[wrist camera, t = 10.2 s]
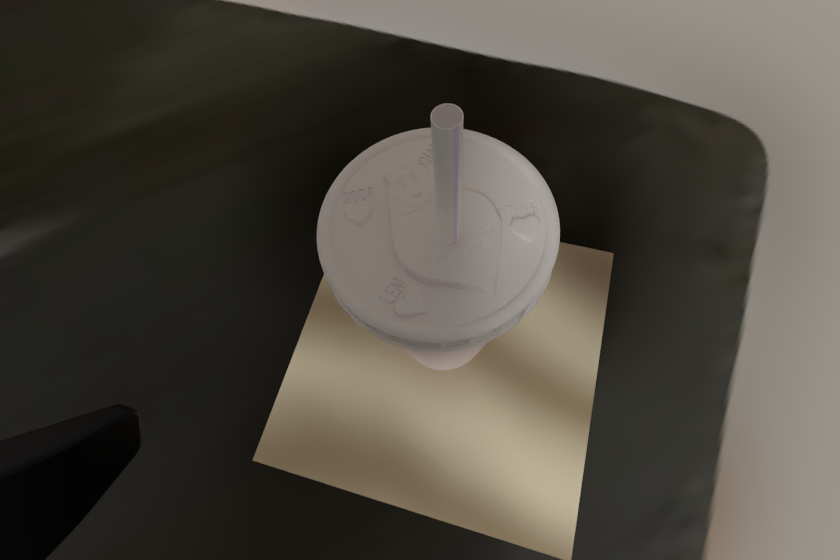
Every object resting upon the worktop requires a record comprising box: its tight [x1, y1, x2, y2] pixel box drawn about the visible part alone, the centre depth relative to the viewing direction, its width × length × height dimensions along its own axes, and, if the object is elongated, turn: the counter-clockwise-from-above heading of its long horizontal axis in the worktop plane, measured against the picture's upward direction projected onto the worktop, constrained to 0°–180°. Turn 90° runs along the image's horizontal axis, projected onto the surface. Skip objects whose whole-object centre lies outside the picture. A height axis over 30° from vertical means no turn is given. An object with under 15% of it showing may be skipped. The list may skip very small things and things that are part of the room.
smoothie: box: [317, 103, 560, 370], centre depth 14 cm, size 6×6×14 cm
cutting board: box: [253, 242, 614, 560], centre depth 21 cm, size 13×13×1 cm
